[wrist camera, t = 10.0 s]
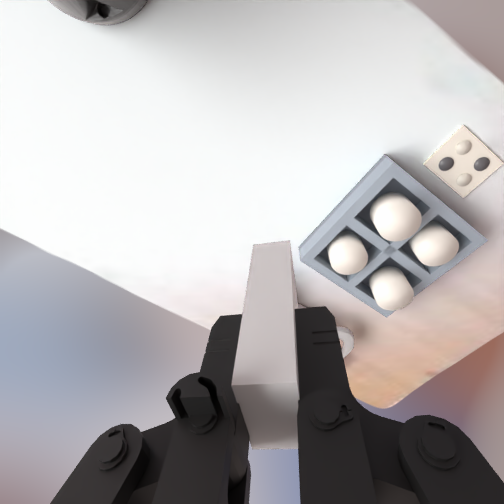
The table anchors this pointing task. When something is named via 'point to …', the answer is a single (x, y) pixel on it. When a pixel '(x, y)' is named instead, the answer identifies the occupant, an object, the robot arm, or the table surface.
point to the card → (463, 162)
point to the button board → (379, 249)
